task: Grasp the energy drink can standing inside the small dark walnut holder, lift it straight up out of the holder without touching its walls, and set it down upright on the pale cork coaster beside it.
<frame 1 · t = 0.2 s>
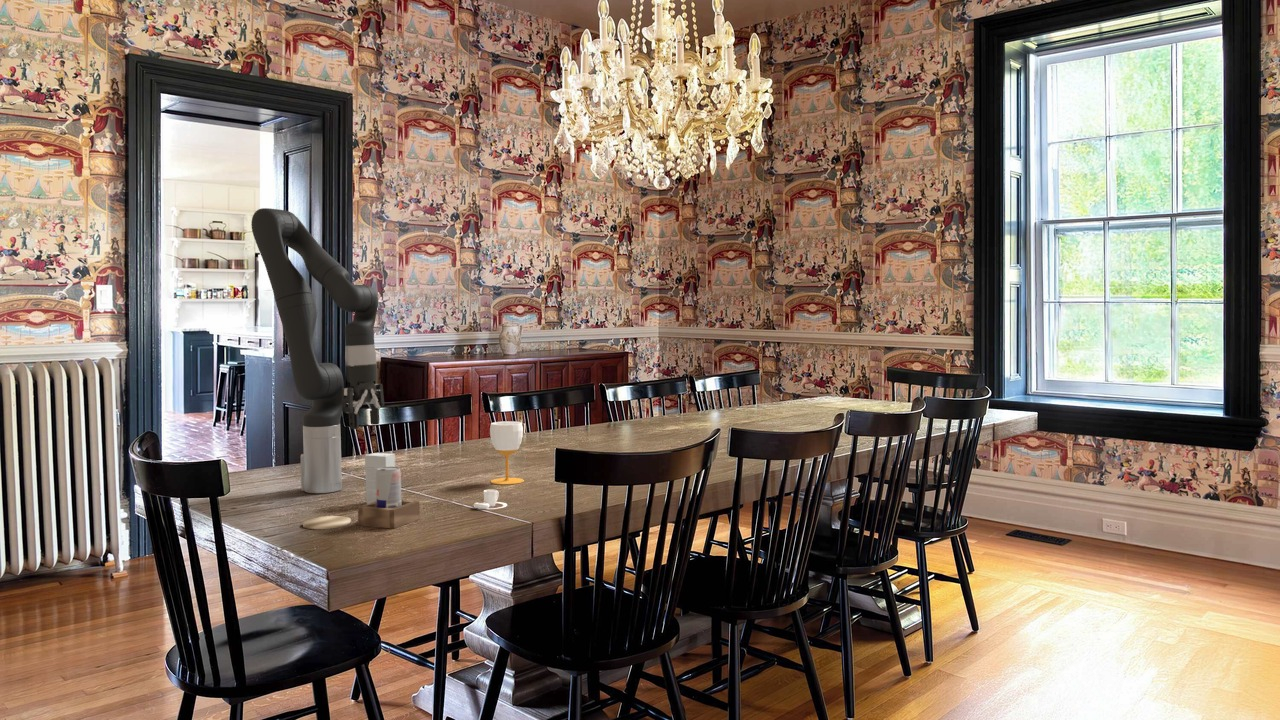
hand: (364, 426, 231), 17 cm above the table, tool pointing down, fingers open, 8 cm apart
cork coaster: (327, 523, 200), on the table
teacup and saucer: (477, 508, 218), on the table
walnut holder: (389, 522, 202), on the table
energy drink: (389, 522, 202), resting in walnut holder
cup: (507, 482, 248), on the table
skincare box: (381, 503, 221), on the table
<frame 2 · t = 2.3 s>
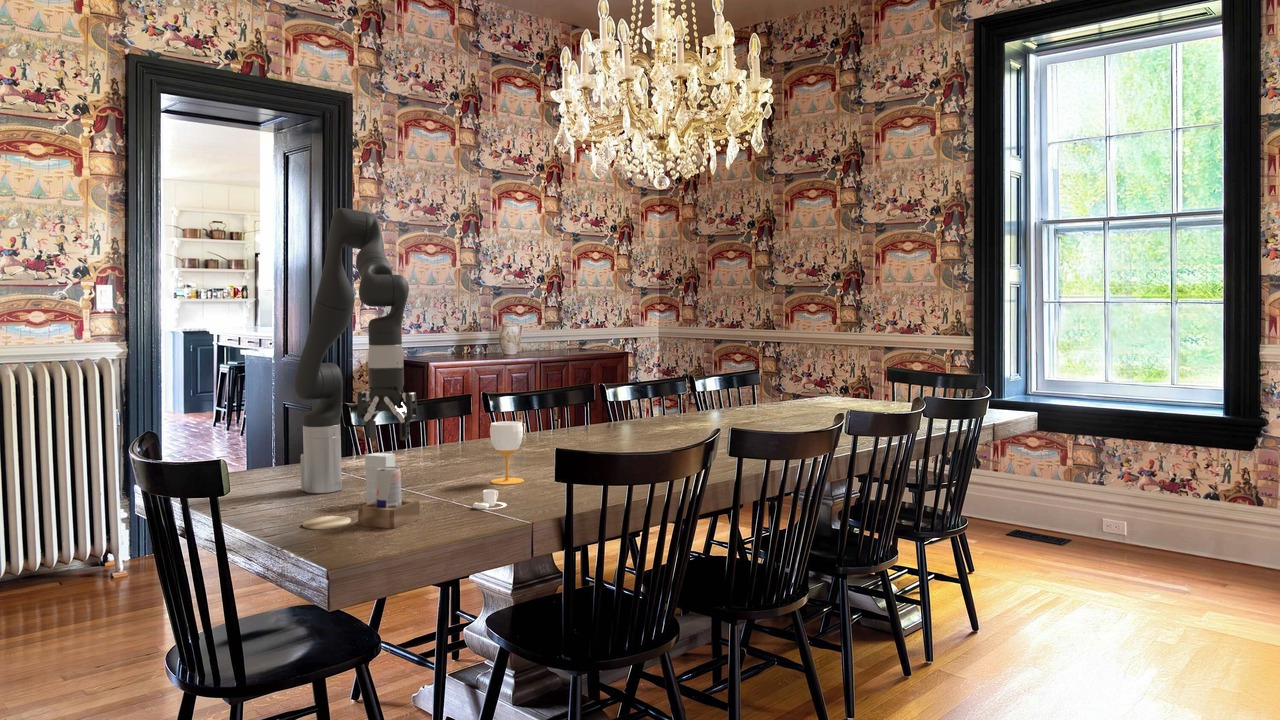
hand: (387, 438, 201), 19 cm above the table, tool pointing down, fingers open, 8 cm apart
nothing on the table moved.
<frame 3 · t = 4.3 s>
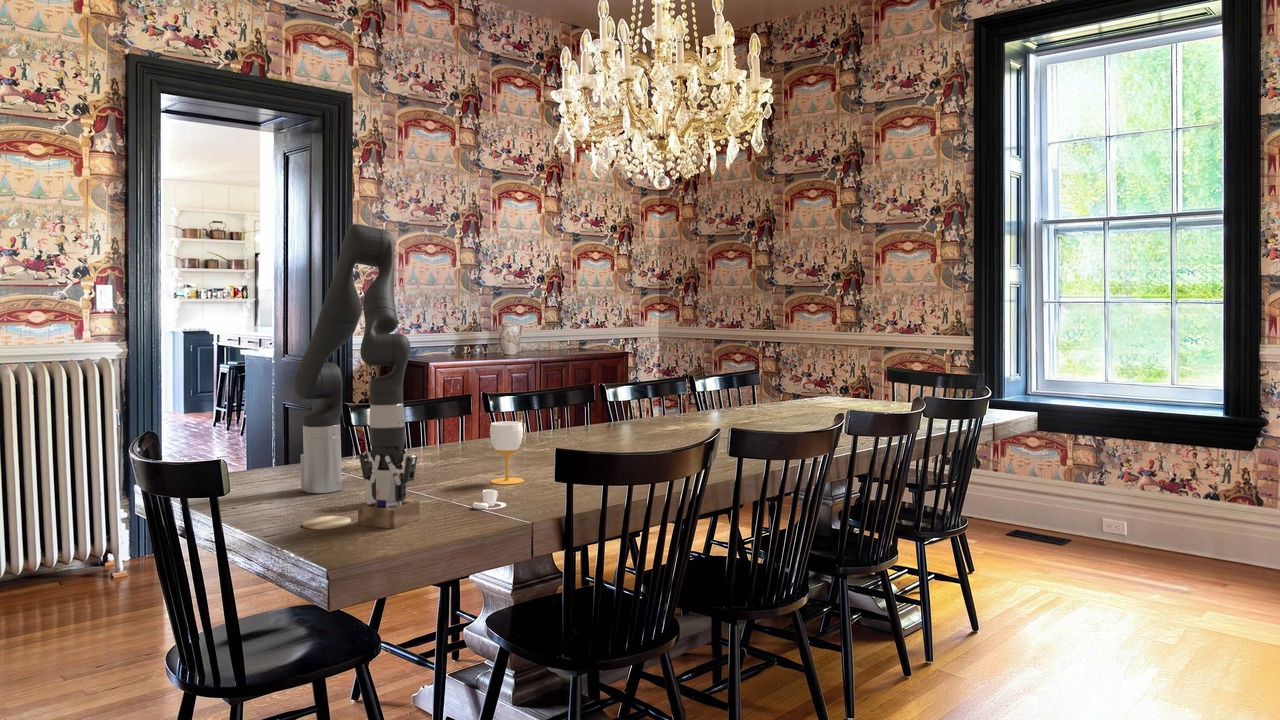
hand: (389, 499, 201), 5 cm above the table, tool pointing down, fingers closed on energy drink, 5 cm apart
energy drink: (389, 522, 202), resting in walnut holder, touching gripper
everything else where it was.
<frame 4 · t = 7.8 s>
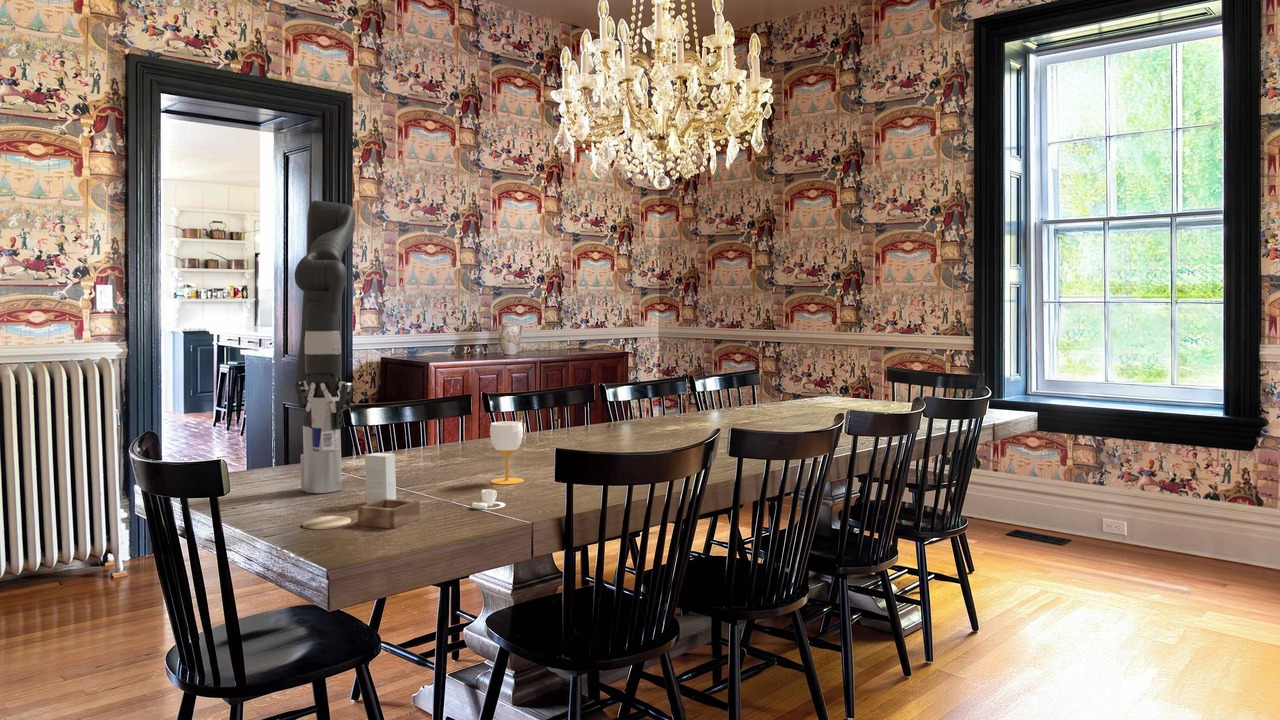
hand: (325, 428, 199), 21 cm above the table, tool pointing down, fingers closed on energy drink, 5 cm apart
energy drink: (325, 452, 199), point 16 cm above the table, touching gripper
everything else where it was.
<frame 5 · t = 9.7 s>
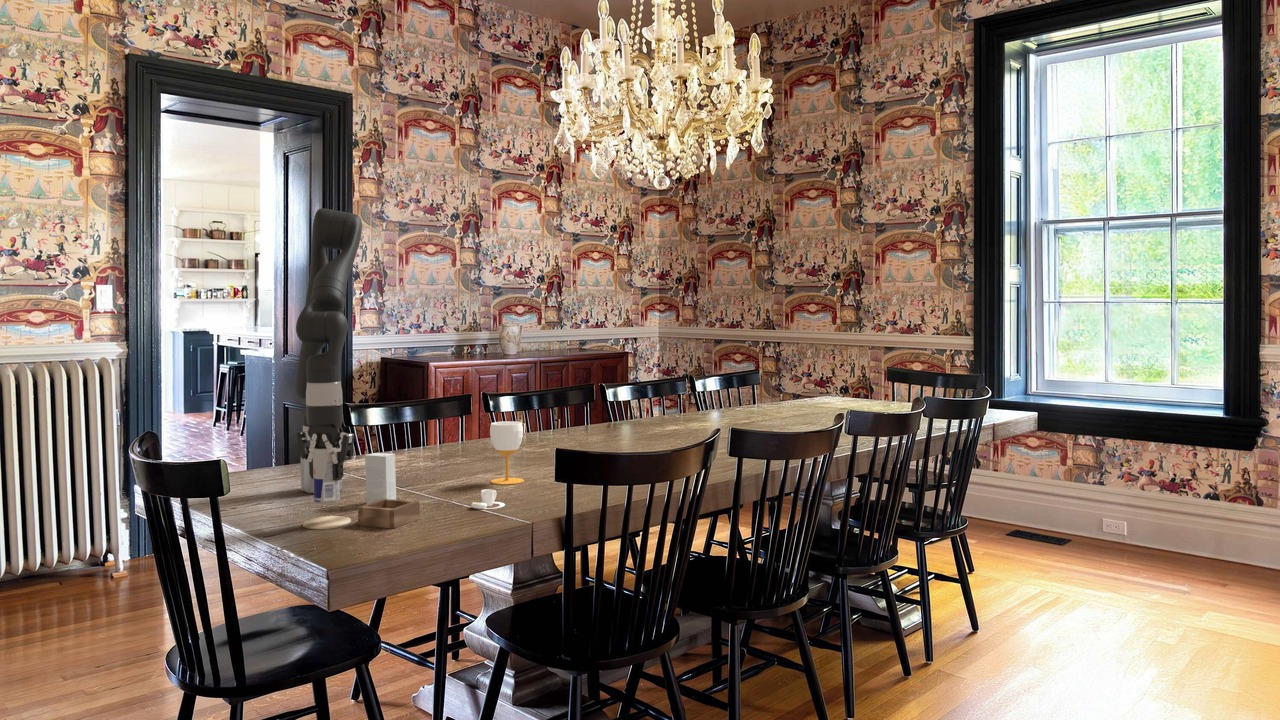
hand: (326, 478, 200), 10 cm above the table, tool pointing down, fingers closed on energy drink, 5 cm apart
energy drink: (327, 502, 200), point 5 cm above the table, touching gripper
everything else where it was.
when the fingers open (7 cm above the table, at t = 11.3 s): energy drink drops 1 cm, resting on cork coaster.
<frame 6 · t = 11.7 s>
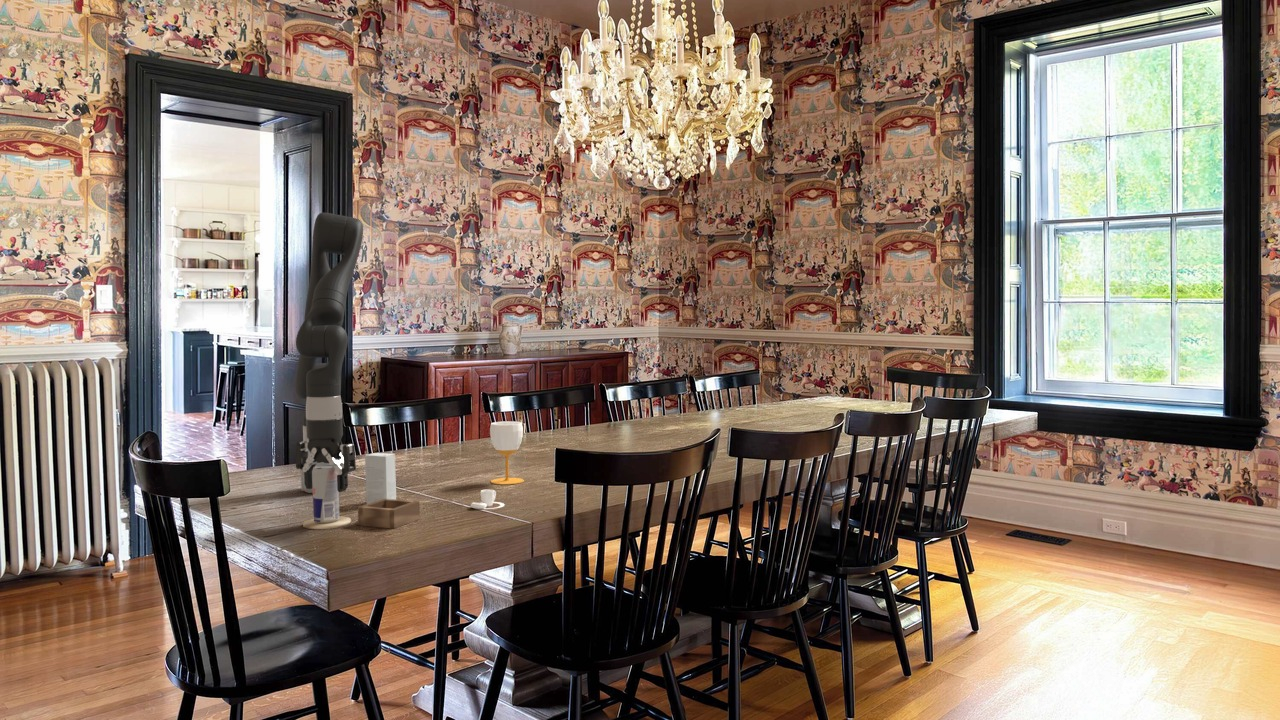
hand: (326, 489, 200), 8 cm above the table, tool pointing down, fingers open, 8 cm apart
energy drink: (326, 521, 200), resting on cork coaster
everything else where it was.
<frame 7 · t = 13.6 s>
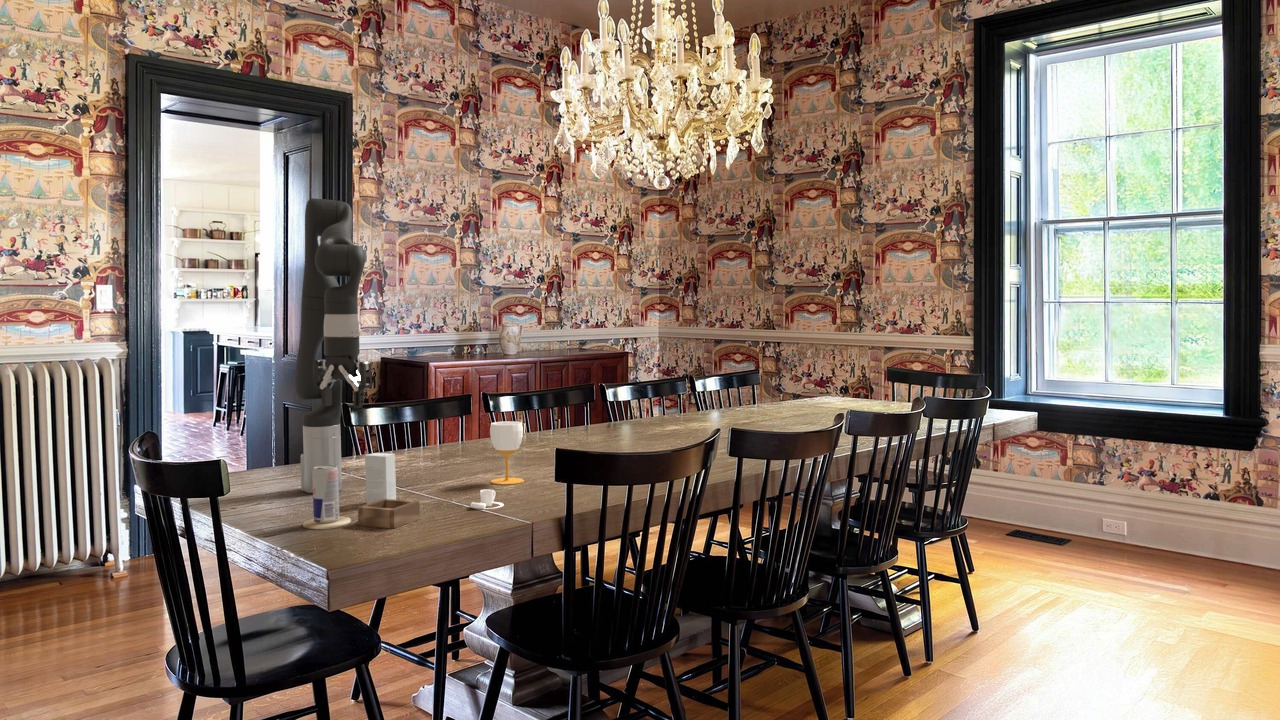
hand: (342, 406, 203), 25 cm above the table, tool pointing down, fingers open, 8 cm apart
nothing on the table moved.
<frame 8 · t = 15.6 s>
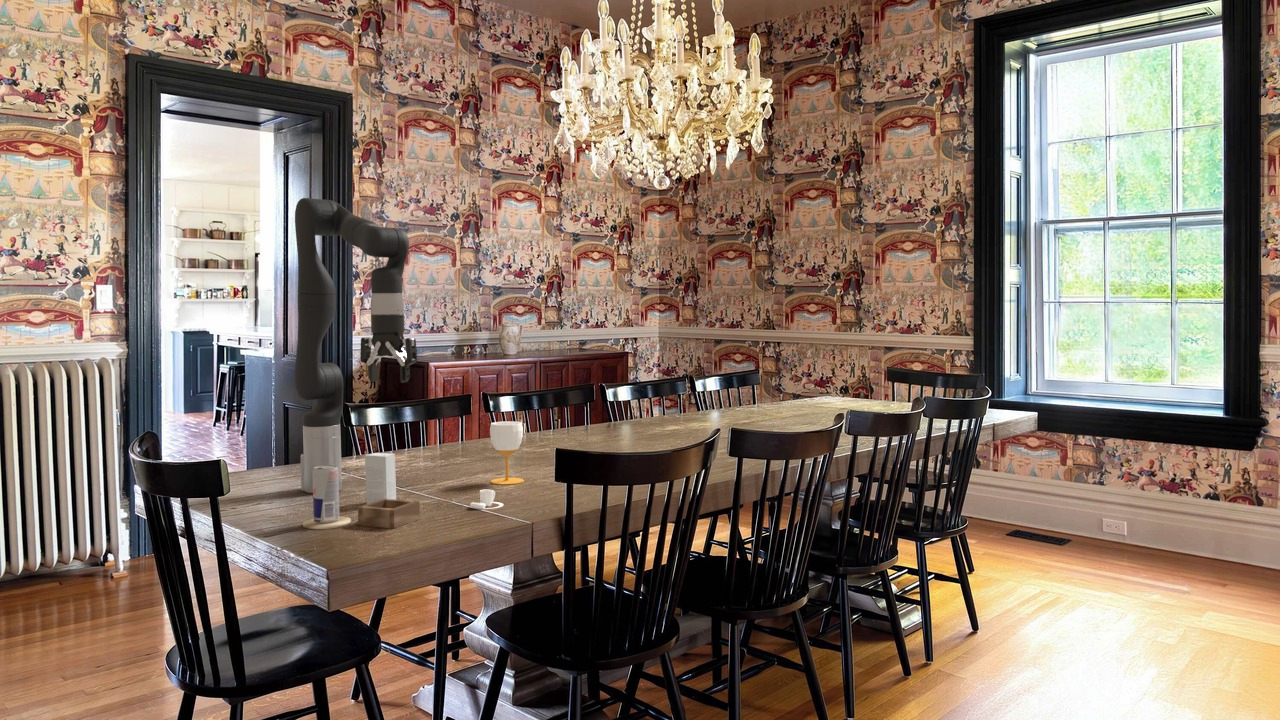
hand: (389, 381, 214), 30 cm above the table, tool pointing down, fingers open, 8 cm apart
nothing on the table moved.
at the end: energy drink inside the target area on the cork coaster (0.2 cm from its centre), point 0.4 cm above the cork coaster's base; energy drink tilted 0°; the gripper is holding nothing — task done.
